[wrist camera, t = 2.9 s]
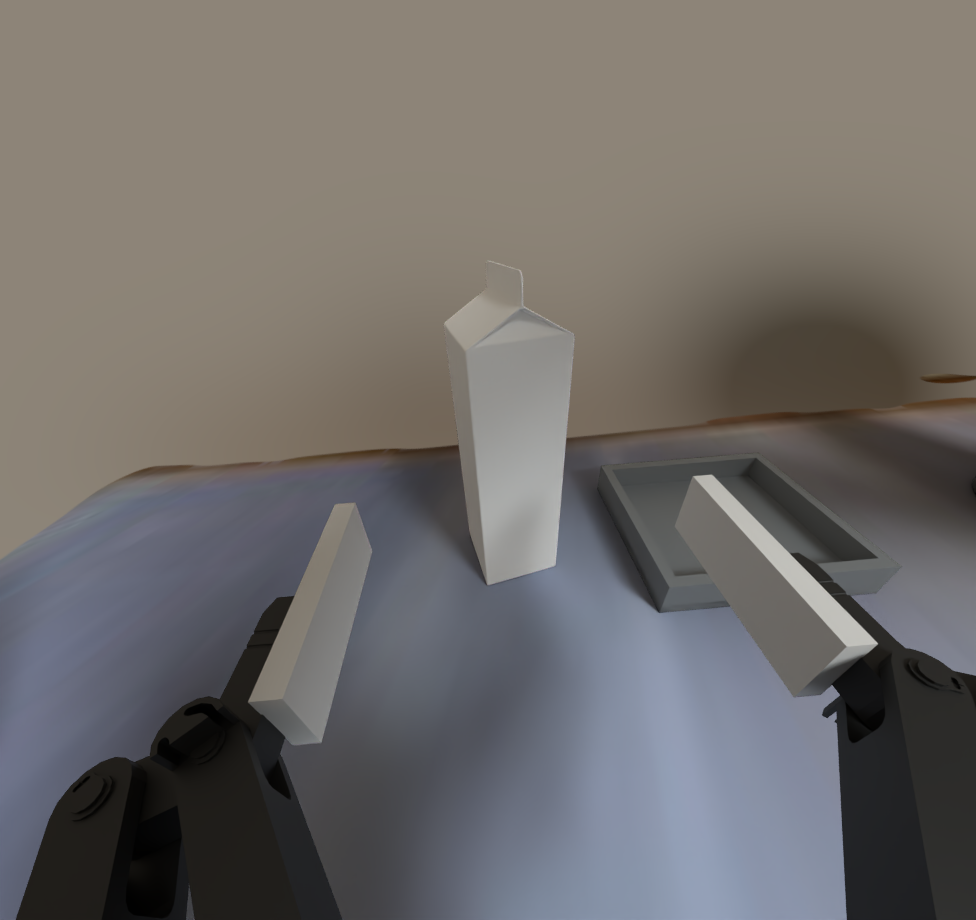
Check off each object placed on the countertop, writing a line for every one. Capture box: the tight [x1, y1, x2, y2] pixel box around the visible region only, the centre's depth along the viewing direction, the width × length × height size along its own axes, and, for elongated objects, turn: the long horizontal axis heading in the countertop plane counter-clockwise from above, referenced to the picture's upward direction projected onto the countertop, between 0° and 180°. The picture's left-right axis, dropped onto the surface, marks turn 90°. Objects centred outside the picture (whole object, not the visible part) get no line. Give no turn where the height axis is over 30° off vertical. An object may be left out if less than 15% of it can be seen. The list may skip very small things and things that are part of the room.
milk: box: [444, 261, 575, 585], centre depth 24 cm, size 6×6×22 cm
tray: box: [598, 453, 902, 613], centre depth 30 cm, size 16×14×3 cm
